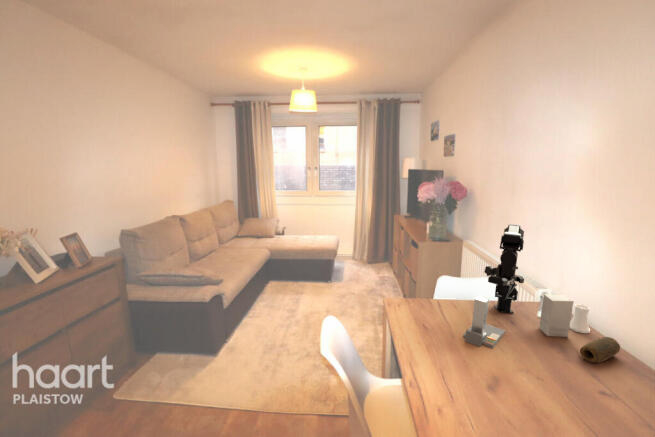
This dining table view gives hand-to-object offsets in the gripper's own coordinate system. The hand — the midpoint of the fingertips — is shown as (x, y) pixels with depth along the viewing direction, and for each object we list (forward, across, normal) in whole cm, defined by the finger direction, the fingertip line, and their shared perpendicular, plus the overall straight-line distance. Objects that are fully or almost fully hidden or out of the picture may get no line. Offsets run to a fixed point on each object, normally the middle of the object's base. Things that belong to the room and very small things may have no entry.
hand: (503, 299), depth 134 cm
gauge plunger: (+13, +18, +2) cm, 22 cm away
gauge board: (+13, +14, +1) cm, 20 cm away
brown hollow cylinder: (+13, -8, +31) cm, 34 cm away
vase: (+9, -27, +19) cm, 34 cm away
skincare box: (+11, -13, +15) cm, 22 cm away
